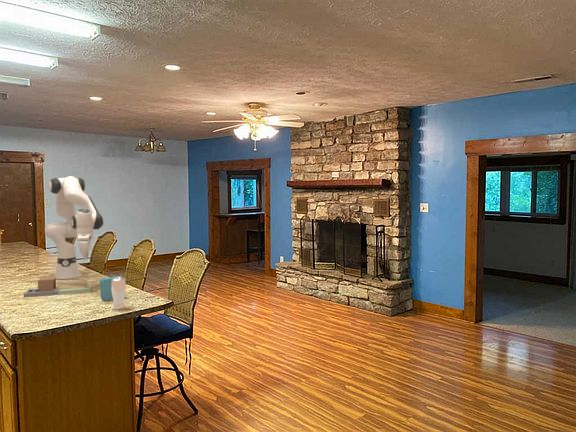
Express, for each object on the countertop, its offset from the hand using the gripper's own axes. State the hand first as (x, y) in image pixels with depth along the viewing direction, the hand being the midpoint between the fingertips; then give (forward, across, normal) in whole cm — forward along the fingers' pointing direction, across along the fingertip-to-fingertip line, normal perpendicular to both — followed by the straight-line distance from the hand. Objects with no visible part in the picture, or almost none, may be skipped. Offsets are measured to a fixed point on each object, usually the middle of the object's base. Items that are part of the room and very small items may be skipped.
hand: (85, 258), depth 272 cm
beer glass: (+19, +51, +21) cm, 59 cm away
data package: (+19, +29, +17) cm, 39 cm away
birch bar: (+17, 0, -8) cm, 19 cm away
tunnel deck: (+19, 0, -15) cm, 24 cm away
